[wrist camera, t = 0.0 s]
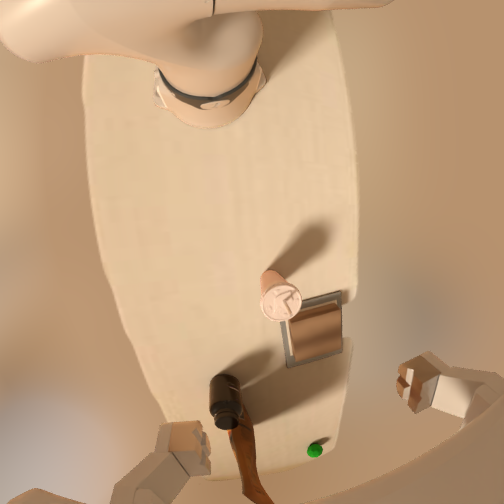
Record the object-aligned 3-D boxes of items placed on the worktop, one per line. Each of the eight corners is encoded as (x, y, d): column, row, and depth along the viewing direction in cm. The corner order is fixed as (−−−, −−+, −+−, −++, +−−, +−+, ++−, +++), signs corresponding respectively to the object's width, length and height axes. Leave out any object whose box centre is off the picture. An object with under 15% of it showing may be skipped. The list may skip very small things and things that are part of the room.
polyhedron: (319, 447, 70) (323, 457, 66) (304, 450, 70) (308, 461, 65) (321, 439, 69) (325, 450, 64) (306, 443, 68) (310, 454, 64)
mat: (277, 307, 52) (278, 308, 51) (340, 290, 52) (341, 291, 52) (287, 367, 56) (287, 368, 56) (341, 351, 57) (342, 352, 57)
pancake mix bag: (244, 387, 57) (263, 493, 30) (260, 429, 63) (278, 515, 36) (216, 392, 57) (222, 499, 30) (236, 434, 62) (248, 520, 36)
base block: (287, 315, 52) (290, 323, 49) (334, 302, 52) (340, 309, 50) (292, 353, 55) (296, 362, 52) (336, 341, 56) (341, 348, 53)
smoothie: (293, 272, 50) (319, 307, 37) (276, 300, 51) (295, 343, 38) (263, 257, 48) (281, 290, 35) (246, 287, 50) (257, 328, 36)
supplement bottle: (241, 373, 56) (247, 414, 44) (237, 394, 57) (243, 433, 46) (210, 372, 54) (210, 412, 43) (208, 392, 56) (208, 432, 45)
